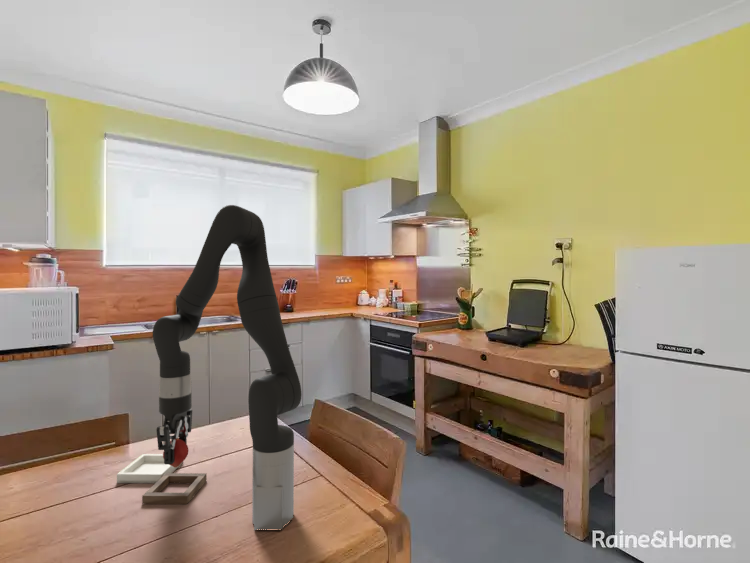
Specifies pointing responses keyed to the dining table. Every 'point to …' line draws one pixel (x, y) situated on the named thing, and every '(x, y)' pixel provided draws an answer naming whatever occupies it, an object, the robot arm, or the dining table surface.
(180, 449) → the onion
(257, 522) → the robot arm
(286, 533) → the dining table surface
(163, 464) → the tray
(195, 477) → the frame
